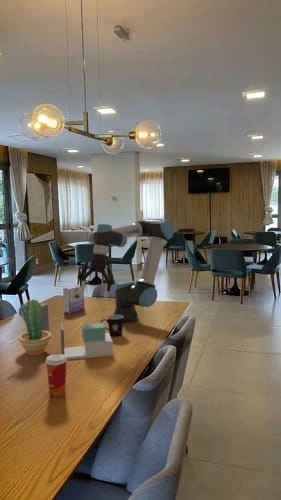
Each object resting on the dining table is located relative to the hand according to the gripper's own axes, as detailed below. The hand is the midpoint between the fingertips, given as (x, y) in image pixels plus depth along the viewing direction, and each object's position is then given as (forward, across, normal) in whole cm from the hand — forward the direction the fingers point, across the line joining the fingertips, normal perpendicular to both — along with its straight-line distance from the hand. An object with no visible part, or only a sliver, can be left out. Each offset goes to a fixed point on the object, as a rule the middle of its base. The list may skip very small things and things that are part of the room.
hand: (93, 295), depth 192 cm
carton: (+19, +8, -8) cm, 23 cm away
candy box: (+15, -39, +52) cm, 66 cm away
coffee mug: (+20, +6, +18) cm, 28 cm away
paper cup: (+35, +15, -46) cm, 60 cm away
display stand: (+26, +5, -9) cm, 29 cm away
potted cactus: (+30, -18, -15) cm, 38 cm away
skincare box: (+26, -32, +8) cm, 42 cm away
